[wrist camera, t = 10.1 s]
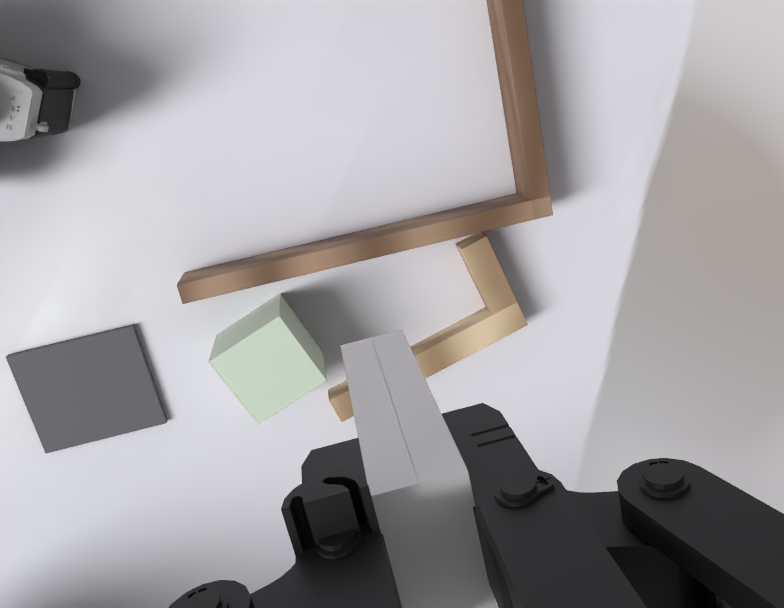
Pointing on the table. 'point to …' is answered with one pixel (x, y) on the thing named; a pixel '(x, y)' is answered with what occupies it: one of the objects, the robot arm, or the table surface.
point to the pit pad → (87, 388)
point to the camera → (34, 101)
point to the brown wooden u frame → (428, 228)
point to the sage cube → (268, 359)
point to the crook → (461, 321)
